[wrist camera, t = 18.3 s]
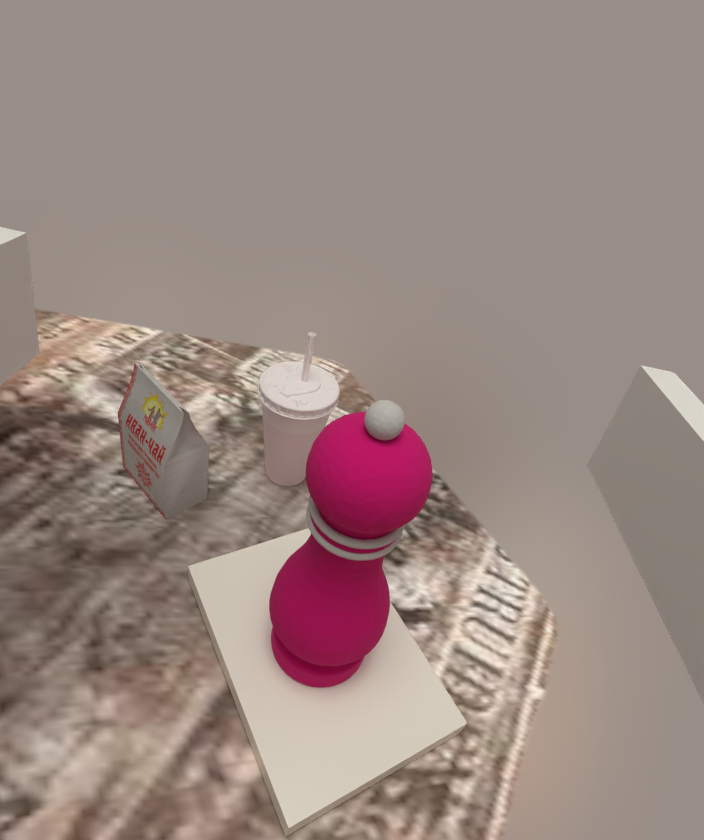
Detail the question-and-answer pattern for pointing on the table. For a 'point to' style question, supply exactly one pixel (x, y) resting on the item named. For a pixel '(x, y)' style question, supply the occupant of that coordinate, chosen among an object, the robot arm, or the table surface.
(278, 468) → the smoothie
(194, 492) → the tea bag
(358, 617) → the pepper mill
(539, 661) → the table surface
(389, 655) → the cutting board
